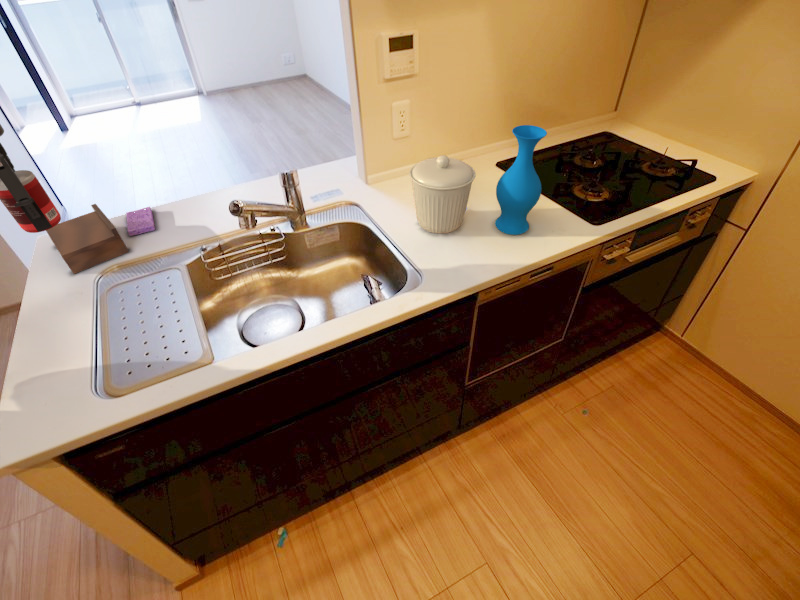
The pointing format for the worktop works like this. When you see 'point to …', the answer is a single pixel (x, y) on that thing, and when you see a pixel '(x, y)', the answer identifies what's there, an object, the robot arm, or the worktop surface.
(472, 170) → the canister
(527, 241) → the worktop surface
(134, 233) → the sponge
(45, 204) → the canned food
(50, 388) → the worktop surface
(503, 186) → the vase
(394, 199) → the worktop surface
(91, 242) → the wooden lipped board
